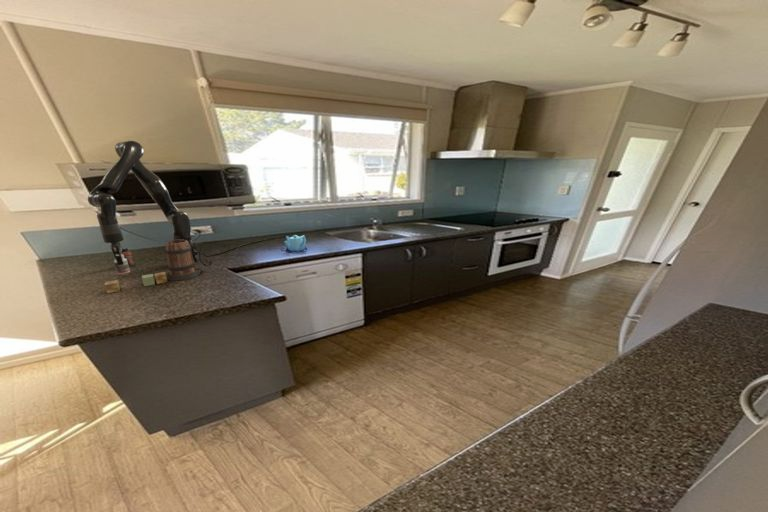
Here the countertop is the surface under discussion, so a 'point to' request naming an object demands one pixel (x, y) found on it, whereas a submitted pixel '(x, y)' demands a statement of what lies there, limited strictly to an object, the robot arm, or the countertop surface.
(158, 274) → the maple block
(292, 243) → the teapot
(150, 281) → the sage block
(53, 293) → the countertop surface
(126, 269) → the pill bottle
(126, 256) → the supplement bottle
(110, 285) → the birch block
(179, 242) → the tankard
